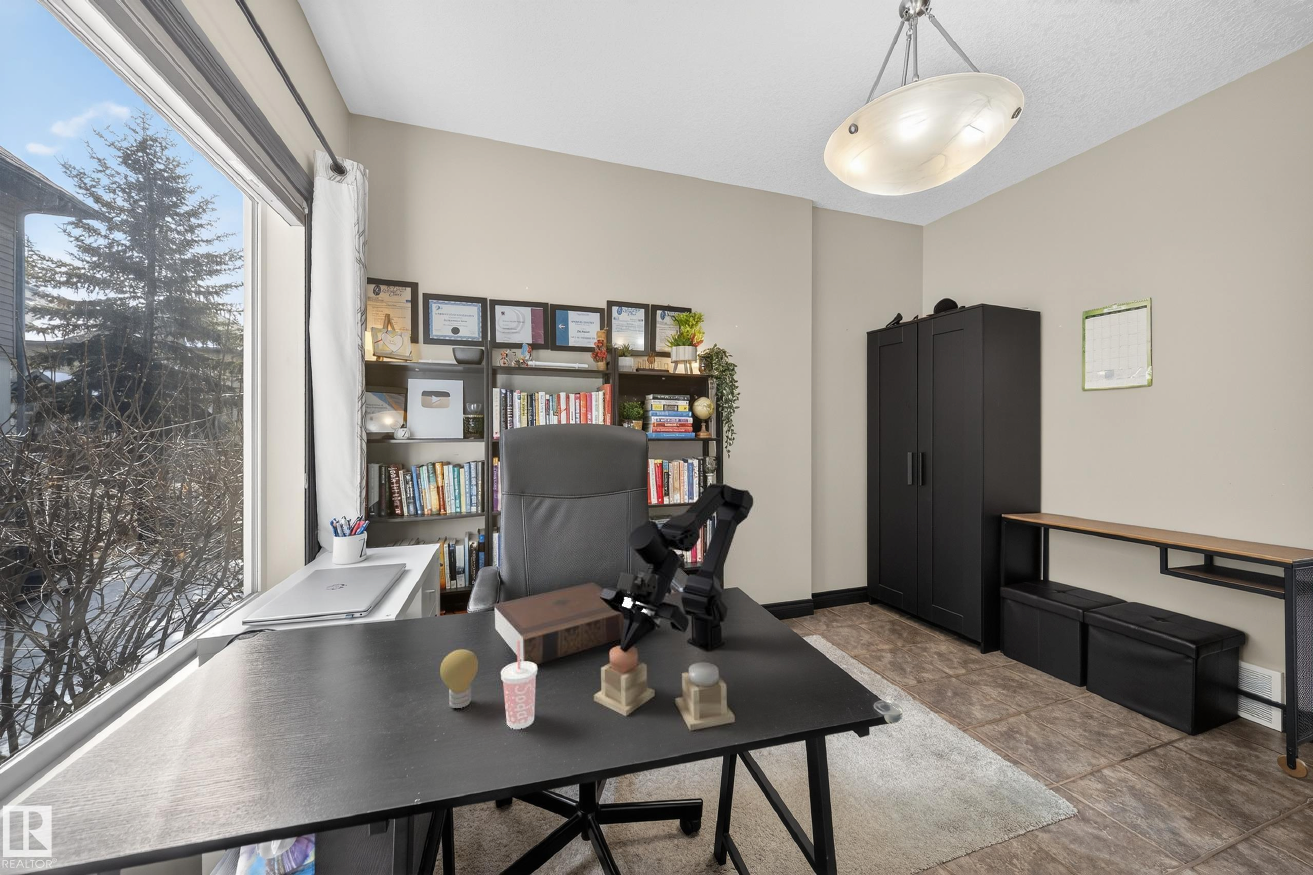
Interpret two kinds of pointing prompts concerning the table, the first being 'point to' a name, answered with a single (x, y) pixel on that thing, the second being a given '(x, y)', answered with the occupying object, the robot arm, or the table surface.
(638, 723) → the table surface
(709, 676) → the light grey rounded piece
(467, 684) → the light bulb
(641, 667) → the cream square holder
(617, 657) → the terracotta plunger
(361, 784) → the table surface
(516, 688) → the beverage cup
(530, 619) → the book
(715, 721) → the beige square socket
